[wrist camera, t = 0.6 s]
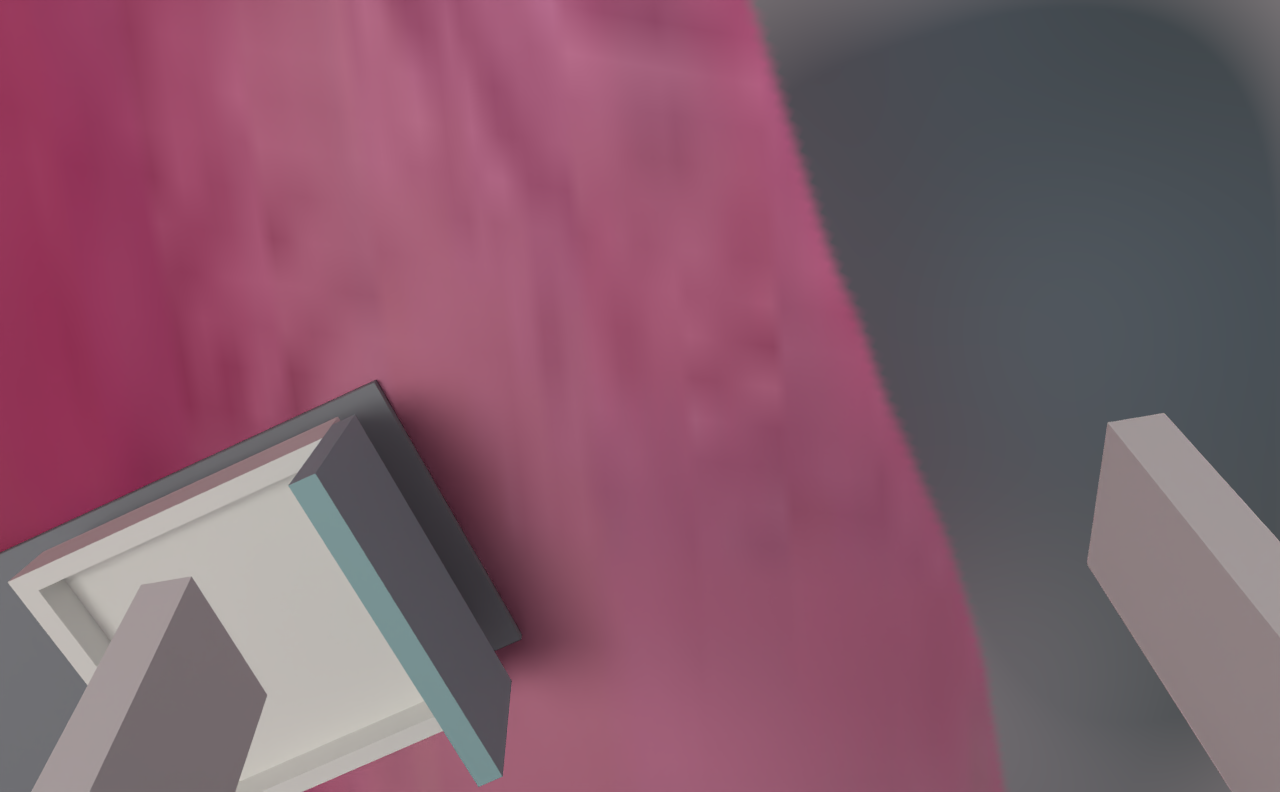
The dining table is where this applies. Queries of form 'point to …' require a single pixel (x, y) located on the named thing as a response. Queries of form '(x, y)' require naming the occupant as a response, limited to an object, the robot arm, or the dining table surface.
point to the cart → (299, 607)
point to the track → (5, 628)
